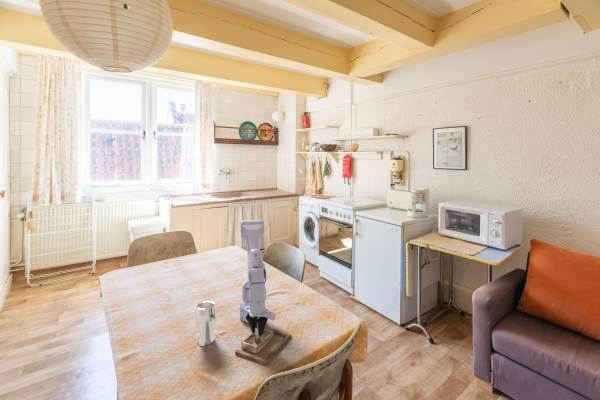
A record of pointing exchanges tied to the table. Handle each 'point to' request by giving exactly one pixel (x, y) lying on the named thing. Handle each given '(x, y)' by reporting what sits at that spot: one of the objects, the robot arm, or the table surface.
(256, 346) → the crate
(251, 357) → the bay
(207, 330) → the silver metal tumbler
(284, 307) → the table surface
